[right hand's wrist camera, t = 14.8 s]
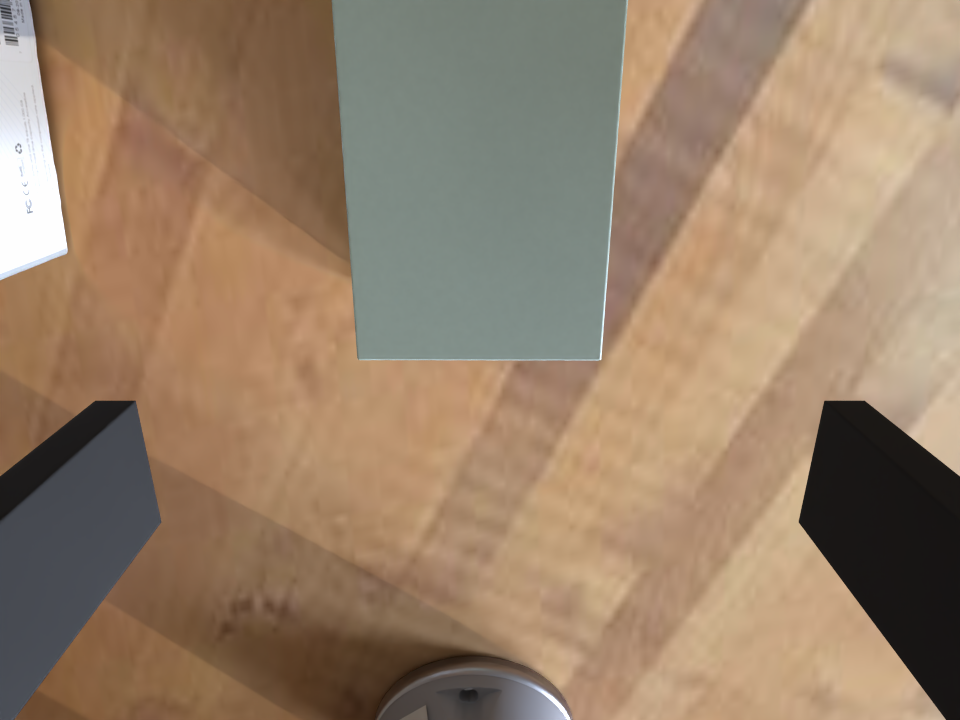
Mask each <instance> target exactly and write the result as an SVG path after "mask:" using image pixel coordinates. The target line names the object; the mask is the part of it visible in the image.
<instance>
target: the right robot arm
mask: <svg viewBox="0 0 960 720" xmlns="http://www.w3.org/2000/svg"><path fill="white" fill-rule="evenodd" d="M160 523H161V518H160V513H159V509H158V504H157V499H156V495H155V490H154V485H153V480H152V476H151V471H150V466H149V462H148V457H147V452H146V448H145V443H144V438H143V433H142V429H141V424H140V419H139V415H138V410H137V405H136V401H95V402H93V403H92V404H91V405H89V406H88V407H87V408H86V409H84V410H83V411H82V412H81V413H79V414H78V415H77V416H76V417H74V418H73V419H72V420H71V421H69V422H68V423H67V424H66V425H64V426H63V427H62V428H61V429H59V430H58V431H57V432H56V433H54V434H53V435H52V436H51V437H49V438H48V439H47V440H45V441H44V442H43V443H42V444H40V445H39V446H38V447H37V448H35V449H34V450H33V451H32V452H30V453H29V454H28V455H27V456H25V457H24V458H23V459H22V460H20V461H19V462H18V463H17V464H15V465H14V466H13V467H12V468H10V469H9V470H8V471H6V472H5V473H4V474H3V475H1V476H0V720H14V719H15V718H16V716H17V715H18V714H19V712H20V711H21V710H22V708H23V707H24V706H25V704H26V703H27V701H28V700H29V699H30V697H31V696H32V695H33V693H34V692H35V691H36V689H37V688H38V687H39V685H40V684H41V683H42V681H43V680H44V679H45V677H46V676H47V675H48V673H49V672H50V671H51V669H52V668H53V667H54V665H55V664H56V663H57V661H58V660H59V659H60V657H61V656H62V655H63V653H64V652H65V651H66V649H67V648H68V647H69V645H70V644H71V643H72V641H73V640H74V638H75V637H76V636H77V634H78V633H79V632H80V630H81V629H82V628H83V626H84V625H85V624H86V622H87V621H88V620H89V618H90V617H91V616H92V614H93V613H94V612H95V610H96V609H97V608H98V606H99V605H100V604H101V602H102V601H103V600H104V598H105V597H106V596H107V594H108V593H109V592H110V590H111V589H112V588H113V586H114V585H115V584H116V582H117V581H118V580H119V578H120V577H121V575H122V574H123V573H124V571H125V570H126V569H127V567H128V566H129V565H130V563H131V562H132V561H133V559H134V558H135V557H136V555H137V554H138V553H139V551H140V550H141V549H142V547H143V546H144V545H145V543H146V542H147V541H148V539H149V538H150V537H151V535H152V534H153V533H154V531H155V530H156V529H157V527H158V526H159V525H160ZM799 523H800V525H801V526H802V527H803V529H804V530H805V531H806V533H807V534H808V535H809V537H810V538H811V539H812V541H813V542H814V543H815V545H816V546H817V547H818V549H819V550H820V551H821V553H822V554H823V555H824V557H825V558H826V559H827V561H828V562H829V563H830V565H831V566H832V567H833V569H834V570H835V571H836V573H837V574H838V575H839V577H840V578H841V580H842V581H843V582H844V584H845V585H846V586H847V588H848V589H849V590H850V592H851V593H852V594H853V596H854V597H855V598H856V600H857V601H858V602H859V604H860V605H861V606H862V608H863V609H864V610H865V612H866V613H867V614H868V616H869V617H870V618H871V620H872V621H873V622H874V624H875V625H876V626H877V628H878V629H879V630H880V632H881V633H882V634H883V636H884V637H885V638H886V640H887V641H888V643H889V644H890V645H891V647H892V648H893V649H894V651H895V652H896V653H897V655H898V656H899V657H900V659H901V660H902V661H903V663H904V664H905V665H906V667H907V668H908V669H909V671H910V672H911V673H912V675H913V676H914V677H915V679H916V680H917V681H918V683H919V684H920V685H921V687H922V688H923V689H924V691H925V692H926V693H927V695H928V696H929V697H930V699H931V700H932V701H933V703H934V704H935V706H936V707H937V708H938V710H939V711H940V712H941V714H942V715H943V716H944V718H945V719H946V720H960V476H959V475H957V474H956V473H955V472H954V471H952V470H951V469H950V468H948V467H947V466H946V465H945V464H943V463H942V462H941V461H940V460H938V459H937V458H936V457H935V456H933V455H932V454H931V453H930V452H928V451H927V450H926V449H925V448H923V447H922V446H921V445H920V444H918V443H917V442H916V441H915V440H913V439H912V438H911V437H909V436H908V435H907V434H906V433H904V432H903V431H902V430H901V429H899V428H898V427H897V426H896V425H894V424H893V423H892V422H891V421H889V420H888V419H887V418H886V417H884V416H883V415H882V414H881V413H879V412H878V411H877V410H876V409H874V408H873V407H872V406H871V405H869V404H868V403H867V402H865V401H824V405H823V410H822V415H821V419H820V424H819V429H818V433H817V438H816V443H815V448H814V452H813V457H812V462H811V466H810V471H809V476H808V480H807V485H806V490H805V495H804V499H803V504H802V509H801V513H800V518H799ZM375 720H573V719H572V714H571V711H570V708H569V706H568V704H567V702H566V700H565V699H564V697H563V696H562V694H561V693H560V692H559V691H558V689H557V688H556V687H555V686H554V685H553V684H552V683H551V682H549V681H548V680H547V679H546V678H544V677H543V676H541V675H540V674H538V673H537V672H535V671H533V670H531V669H529V668H527V667H525V666H522V665H520V664H517V663H514V662H511V661H507V660H503V659H498V658H492V657H481V656H465V657H455V658H448V659H444V660H440V661H436V662H433V663H430V664H427V665H425V666H422V667H420V668H418V669H416V670H414V671H412V672H410V673H409V674H407V675H406V676H404V677H403V678H401V679H400V680H399V681H398V682H396V683H395V684H394V685H393V686H392V687H391V688H390V690H389V691H388V692H387V693H386V694H385V696H384V698H383V699H382V701H381V703H380V705H379V707H378V709H377V712H376V716H375Z"/></svg>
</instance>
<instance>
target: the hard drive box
mask: <svg viewBox="0 0 960 720" xmlns="http://www.w3.org/2000/svg"><path fill="white" fill-rule="evenodd" d="M67 251H68V250H67V243H66V237H65V230H64V224H63V218H62V212H61V200H60V196H59V190H58V181H57V174H56V170H55V165H54V161H53V153H52V147H51V141H50V134H49V127H48V120H47V114H46V108H45V103H44V97H43V90H42V83H41V76H40V68H39V63H38V58H37V43H36V37H35V32H34V26H33V19H32V12H31V7H30V3H29V0H0V280H2V279H4V278H6V277H9V276H11V275H14V274H16V273H19V272H21V271H24V270H26V269H29V268H32V267H34V266H37V265H39V264H42V263H44V262H46V261H49V260H51V259H54V258H56V257H59V256H62V255H65V254H66V253H67Z"/></svg>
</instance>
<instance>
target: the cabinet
mask: <svg viewBox="0 0 960 720" xmlns="http://www.w3.org/2000/svg"><path fill="white" fill-rule="evenodd" d="M627 5H628V0H332V12H333V25H334V39H335V53H336V67H337V81H338V95H339V109H340V123H341V137H342V150H343V164H344V178H345V192H346V206H347V220H348V234H349V248H350V262H351V275H352V289H353V303H354V317H355V331H356V345H357V358H358V360H601V353H602V340H603V326H604V313H605V300H606V286H607V273H608V259H609V246H610V232H611V219H612V206H613V192H614V179H615V165H616V152H617V139H618V125H619V112H620V98H621V85H622V72H623V58H624V45H625V31H626V18H627Z"/></svg>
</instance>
